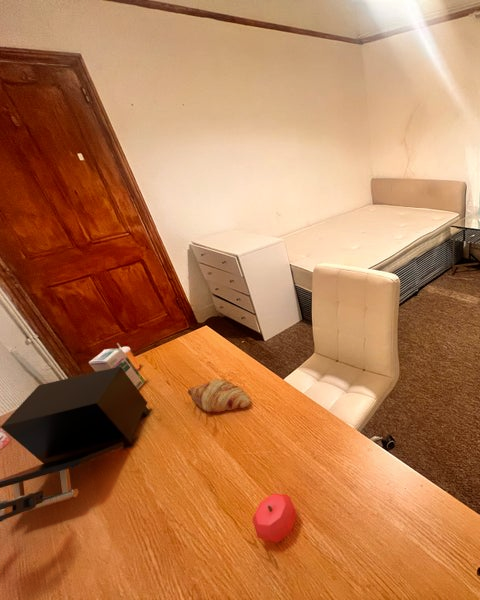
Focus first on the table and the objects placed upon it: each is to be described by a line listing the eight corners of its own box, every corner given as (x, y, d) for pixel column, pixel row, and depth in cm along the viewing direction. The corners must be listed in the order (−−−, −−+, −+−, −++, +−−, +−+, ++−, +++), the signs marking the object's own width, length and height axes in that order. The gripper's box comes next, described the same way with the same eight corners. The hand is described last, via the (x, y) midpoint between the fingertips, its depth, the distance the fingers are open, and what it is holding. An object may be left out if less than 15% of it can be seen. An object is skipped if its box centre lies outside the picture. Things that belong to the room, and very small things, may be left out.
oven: (134, 446, 80) (96, 402, 72) (51, 470, 76) (-1, 427, 67) (151, 408, 91) (120, 366, 82) (79, 427, 87) (38, 385, 78)
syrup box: (133, 395, 96) (106, 360, 88) (115, 396, 96) (87, 361, 89) (146, 381, 101) (122, 347, 93) (128, 382, 101) (103, 348, 94)
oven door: (127, 471, 77) (83, 496, 64) (45, 496, 73) (-21, 528, 60) (123, 441, 78) (78, 459, 64) (41, 464, 74) (-24, 488, 61)
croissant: (261, 406, 93) (261, 381, 92) (236, 421, 83) (237, 393, 83) (202, 396, 98) (203, 371, 97) (172, 409, 88) (173, 382, 87)
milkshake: (140, 361, 110) (125, 339, 105) (143, 368, 107) (127, 346, 101) (125, 368, 107) (108, 346, 102) (127, 376, 104) (110, 353, 99)
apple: (281, 497, 67) (271, 477, 63) (308, 516, 64) (298, 496, 59) (250, 534, 61) (236, 515, 57) (277, 558, 58) (265, 539, 54)
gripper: (-38, 500, 46) (58, 470, 61) (-170, 537, 42) (-33, 496, 58) (-40, 556, 44) (60, 511, 60) (-177, 600, 41) (-34, 541, 56)
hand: (14, 504), depth 59 cm, fingers open, 8 cm apart
